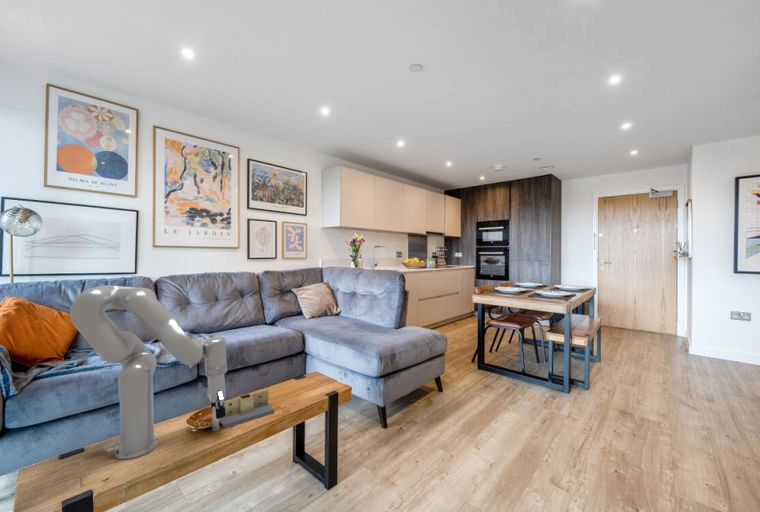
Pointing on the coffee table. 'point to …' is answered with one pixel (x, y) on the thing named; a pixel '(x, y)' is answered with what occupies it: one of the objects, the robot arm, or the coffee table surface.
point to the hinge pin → (215, 420)
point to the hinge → (246, 403)
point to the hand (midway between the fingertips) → (218, 412)
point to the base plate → (246, 416)
